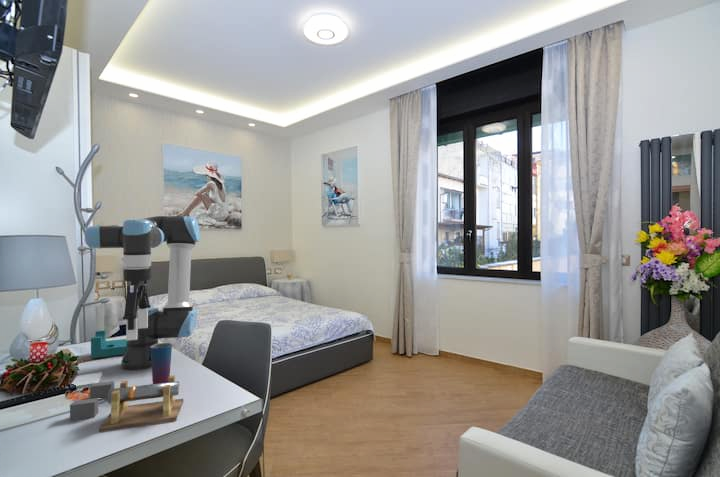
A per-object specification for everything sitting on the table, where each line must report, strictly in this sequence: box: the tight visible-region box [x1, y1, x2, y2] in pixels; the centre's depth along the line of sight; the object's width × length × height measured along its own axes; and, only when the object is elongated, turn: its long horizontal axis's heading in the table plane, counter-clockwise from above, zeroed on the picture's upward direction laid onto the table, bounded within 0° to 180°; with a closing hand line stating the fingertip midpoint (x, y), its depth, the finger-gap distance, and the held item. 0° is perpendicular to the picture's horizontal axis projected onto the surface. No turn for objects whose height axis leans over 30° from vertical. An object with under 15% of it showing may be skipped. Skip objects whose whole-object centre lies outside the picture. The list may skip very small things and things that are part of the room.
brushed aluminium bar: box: [106, 380, 180, 405], centre depth 105 cm, size 18×4×4 cm, turn 109°
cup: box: [150, 342, 173, 384], centre depth 126 cm, size 7×7×15 cm
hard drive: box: [71, 371, 103, 389], centre depth 131 cm, size 2×8×12 cm
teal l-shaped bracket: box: [90, 329, 127, 359], centre depth 164 cm, size 18×11×10 cm, turn 117°
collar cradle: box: [98, 374, 184, 433], centre depth 105 cm, size 13×19×10 cm
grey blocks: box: [69, 380, 115, 422], centre depth 111 cm, size 17×6×4 cm, turn 19°
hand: (137, 333), depth 112 cm, fingers open, 13 cm apart
